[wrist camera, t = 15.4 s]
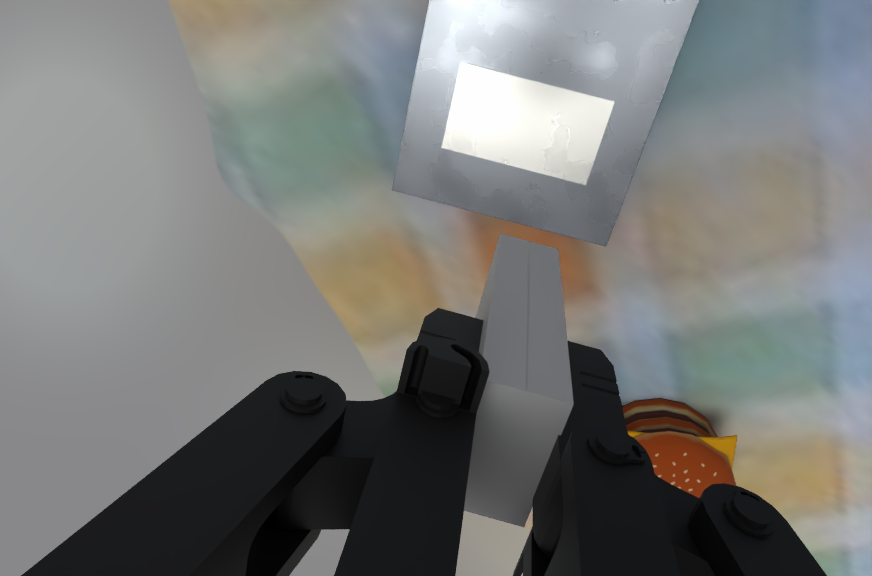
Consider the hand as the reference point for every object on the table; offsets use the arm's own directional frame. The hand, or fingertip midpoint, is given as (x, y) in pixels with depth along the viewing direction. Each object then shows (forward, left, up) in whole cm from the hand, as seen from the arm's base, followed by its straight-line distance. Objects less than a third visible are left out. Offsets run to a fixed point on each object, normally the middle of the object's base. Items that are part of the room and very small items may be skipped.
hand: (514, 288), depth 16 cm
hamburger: (-16, +21, -25) cm, 36 cm away
